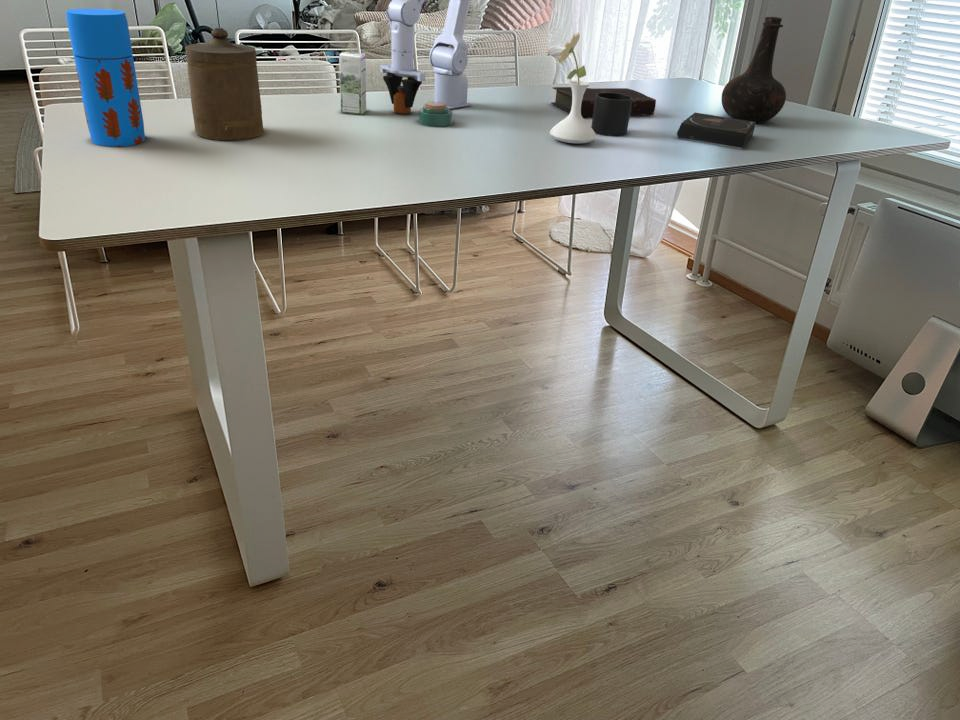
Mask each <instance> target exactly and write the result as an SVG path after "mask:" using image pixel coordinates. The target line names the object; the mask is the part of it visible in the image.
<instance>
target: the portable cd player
mask: <svg viewBox="0 0 960 720" xmlns="http://www.w3.org/2000/svg"><path fill="white" fill-rule="evenodd" d="M756 124H757V123H756V122H753V121H746V120H740V119H734V118H731V117H727V116H722V115H721V116H720V115H714V114H707V113H699V112H693V113H692V114H691V115H690V116H689V117H687V118H686V119H685V120H684V121H682V122H681V123H680V126H679V128H678V130H677V132H676V135H677V139H678V140H684V141H690V142H695V143H701V144H708V145H713V146H720V147H723V148H724V147H726V148H731V149H737V150H742V151H743V150H744V149H745V147H746V146H747V145H748V143H749V142H750V141H751V139H752V138H753V135H754V133H755V127H756Z"/></svg>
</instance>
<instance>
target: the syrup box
mask: <svg viewBox="0 0 960 720" xmlns="http://www.w3.org/2000/svg"><path fill="white" fill-rule="evenodd" d="M338 61H339V62H338V66H339V90H340V91H339V99H340V101H339V102H340V113H342V114H352V115H363V114H364V113H365V112H366V111H367V84H366V83H367V57H366V53H364V52H353V51H342V52H340V53H339V55H338Z"/></svg>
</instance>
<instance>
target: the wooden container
mask: <svg viewBox="0 0 960 720" xmlns="http://www.w3.org/2000/svg"><path fill="white" fill-rule="evenodd" d="M211 37H212V39H211V40H210V42H202V43H201V42H200V43H199V42H198V43H192V44H188V45H186V46H185V58H186V62H187V64H186V65H187V77H188V84H189V94H190V103H191V104H190V105H191V110H192V116H193V117H192V118H193V124H194V132H195V134H196V135H197V136H198V137H201V138H204V139H209V140H216V141H241V140H249V139H253V138H257V137H260V136H261V135H263V134H264V123H263V110H262V100H261V99H262V98H261V91H260V82H259V73H258V65H257V60H258V59H257V51H256V48H255V47H253V46H250V45H246V44H240V43H231V42H230V41H229V40H228V37H229V34H228V31H227V30H226V29H224V28H223V27H215V28H213V29H212V30H211Z"/></svg>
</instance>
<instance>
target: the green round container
mask: <svg viewBox="0 0 960 720" xmlns="http://www.w3.org/2000/svg"><path fill="white" fill-rule="evenodd" d="M453 113H454V112H453V111H452V109H449V108H448V107H446V103H443V102H435V101H434V100H433V101H427V102H425V105H423V106H422V107H421V108H419V110H418V123H419V124H420V125H422V126H427V127H434V128H443V127H445V128H446V127H449V126H452V125H453Z"/></svg>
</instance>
